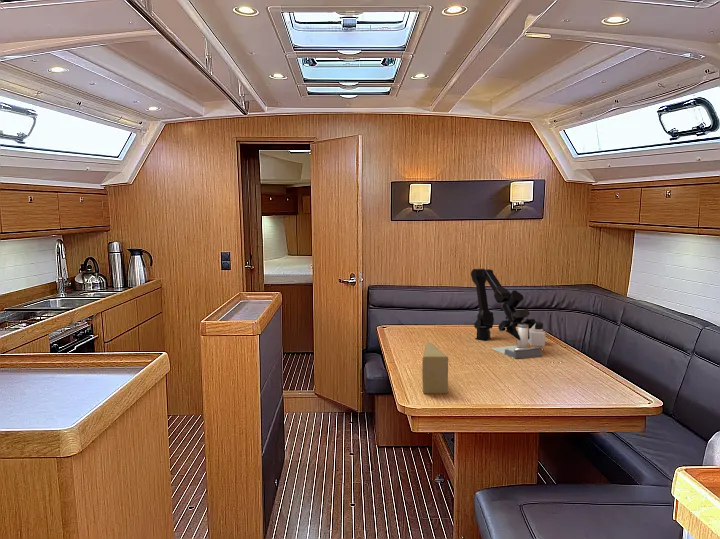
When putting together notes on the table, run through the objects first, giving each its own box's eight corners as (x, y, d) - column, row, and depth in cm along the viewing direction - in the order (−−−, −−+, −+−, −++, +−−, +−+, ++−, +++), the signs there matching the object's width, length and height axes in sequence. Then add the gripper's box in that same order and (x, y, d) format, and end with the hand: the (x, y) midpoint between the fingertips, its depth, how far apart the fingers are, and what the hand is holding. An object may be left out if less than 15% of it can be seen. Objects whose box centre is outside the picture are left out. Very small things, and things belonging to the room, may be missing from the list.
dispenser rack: (504, 354, 240) (504, 345, 239) (530, 351, 244) (530, 342, 244) (515, 359, 232) (515, 349, 231) (541, 356, 236) (541, 346, 236)
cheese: (416, 375, 207) (417, 341, 205) (439, 375, 207) (440, 341, 205) (422, 394, 185) (422, 355, 183) (448, 394, 185) (448, 355, 183)
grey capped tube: (515, 353, 238) (516, 324, 237) (518, 350, 242) (519, 323, 241) (525, 354, 235) (526, 326, 234) (528, 352, 239) (530, 324, 237)
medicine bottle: (541, 342, 262) (542, 320, 261) (545, 346, 255) (545, 323, 254) (527, 342, 263) (528, 320, 262) (531, 345, 256) (531, 323, 255)
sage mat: (491, 348, 250) (491, 348, 250) (515, 346, 255) (515, 345, 255) (504, 354, 240) (504, 353, 240) (529, 351, 245) (529, 350, 245)
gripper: (502, 304, 237) (515, 331, 228) (534, 302, 243) (548, 328, 234) (492, 317, 245) (505, 344, 236) (523, 315, 251) (537, 341, 242)
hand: (524, 339), depth 237 cm, fingers closed on grey capped tube, 5 cm apart
